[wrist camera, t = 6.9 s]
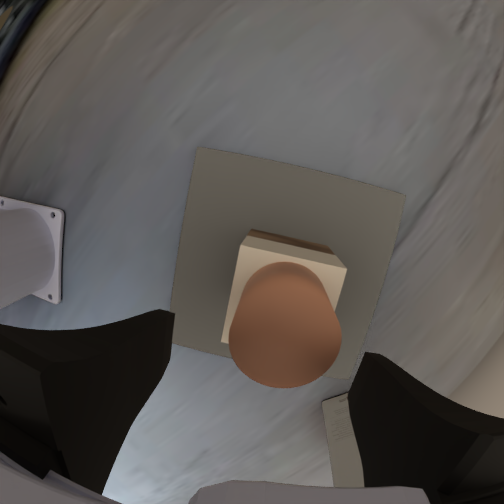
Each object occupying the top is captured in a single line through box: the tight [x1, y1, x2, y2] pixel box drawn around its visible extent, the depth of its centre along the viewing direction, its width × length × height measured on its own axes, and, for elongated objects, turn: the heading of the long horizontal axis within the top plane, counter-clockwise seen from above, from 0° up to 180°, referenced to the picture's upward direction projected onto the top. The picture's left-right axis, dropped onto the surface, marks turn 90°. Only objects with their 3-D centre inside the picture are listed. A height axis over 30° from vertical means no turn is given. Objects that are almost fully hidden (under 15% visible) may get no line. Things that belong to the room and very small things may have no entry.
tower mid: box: [221, 236, 347, 344], centre depth 16 cm, size 5×5×3 cm
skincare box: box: [322, 393, 364, 488], centre depth 17 cm, size 6×4×12 cm
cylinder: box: [228, 262, 342, 388], centre depth 13 cm, size 4×4×4 cm
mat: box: [170, 147, 406, 380], centre depth 21 cm, size 14×14×1 cm
